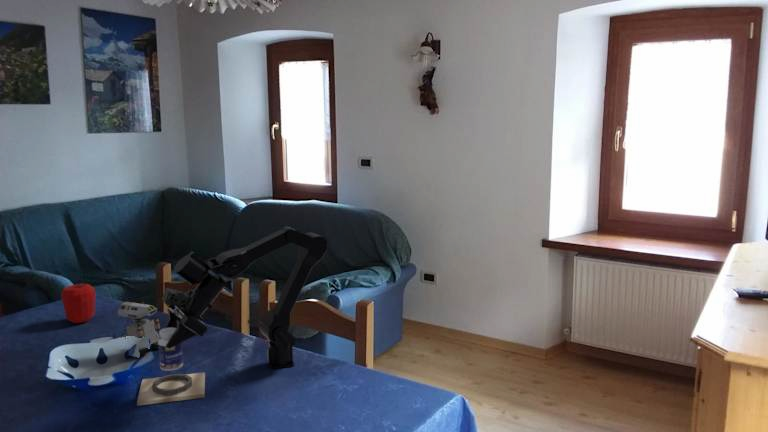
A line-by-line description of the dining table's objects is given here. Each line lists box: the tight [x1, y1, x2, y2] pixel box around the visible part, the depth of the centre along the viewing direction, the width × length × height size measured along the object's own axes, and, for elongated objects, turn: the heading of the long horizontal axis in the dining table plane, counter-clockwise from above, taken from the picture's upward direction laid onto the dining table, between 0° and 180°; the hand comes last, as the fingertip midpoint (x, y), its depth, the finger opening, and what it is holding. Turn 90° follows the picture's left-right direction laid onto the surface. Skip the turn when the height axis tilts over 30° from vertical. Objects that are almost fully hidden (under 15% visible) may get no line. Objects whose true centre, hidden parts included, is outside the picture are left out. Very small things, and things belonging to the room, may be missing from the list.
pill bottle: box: [158, 327, 184, 372], centre depth 160 cm, size 6×6×10 cm
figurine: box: [112, 301, 161, 350], centre depth 186 cm, size 9×12×15 cm
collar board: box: [136, 371, 206, 407], centre depth 162 cm, size 16×13×2 cm
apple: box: [61, 282, 96, 325], centre depth 211 cm, size 11×10×14 cm
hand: (164, 343), depth 159 cm, fingers closed on pill bottle, 6 cm apart
